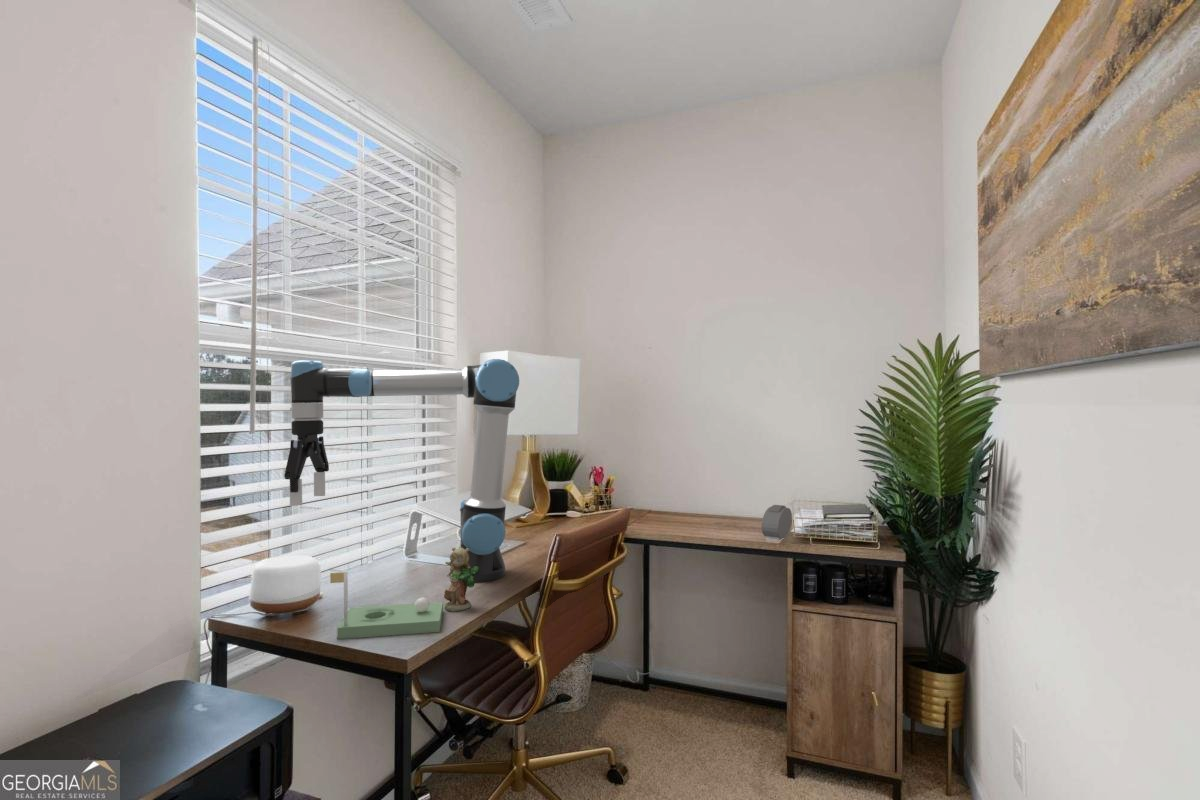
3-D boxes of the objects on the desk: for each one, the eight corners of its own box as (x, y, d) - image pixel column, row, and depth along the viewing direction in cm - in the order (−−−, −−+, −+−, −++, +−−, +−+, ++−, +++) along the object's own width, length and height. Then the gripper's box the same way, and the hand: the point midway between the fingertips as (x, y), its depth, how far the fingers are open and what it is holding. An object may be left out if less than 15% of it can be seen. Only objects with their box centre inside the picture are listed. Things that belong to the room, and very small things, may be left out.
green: (443, 611, 149) (443, 601, 149) (439, 631, 137) (439, 620, 137) (350, 617, 145) (350, 607, 145) (337, 639, 132) (337, 627, 132)
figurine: (437, 609, 151) (437, 550, 151) (457, 600, 158) (457, 543, 158) (464, 615, 147) (464, 554, 147) (484, 606, 153) (484, 548, 153)
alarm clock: (776, 532, 239) (776, 500, 239) (791, 533, 236) (792, 501, 236) (761, 544, 219) (761, 509, 219) (778, 546, 216) (778, 511, 216)
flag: (347, 624, 134) (348, 571, 134) (347, 625, 134) (347, 572, 134) (330, 625, 134) (331, 572, 134) (330, 626, 133) (330, 573, 133)
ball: (429, 609, 144) (429, 595, 144) (428, 614, 141) (428, 599, 141) (415, 610, 143) (415, 596, 143) (413, 615, 140) (413, 600, 140)
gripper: (314, 417, 169) (314, 492, 169) (268, 421, 144) (269, 509, 144) (340, 417, 169) (341, 492, 169) (299, 421, 144) (300, 508, 144)
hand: (308, 500), depth 156 cm, fingers open, 13 cm apart
